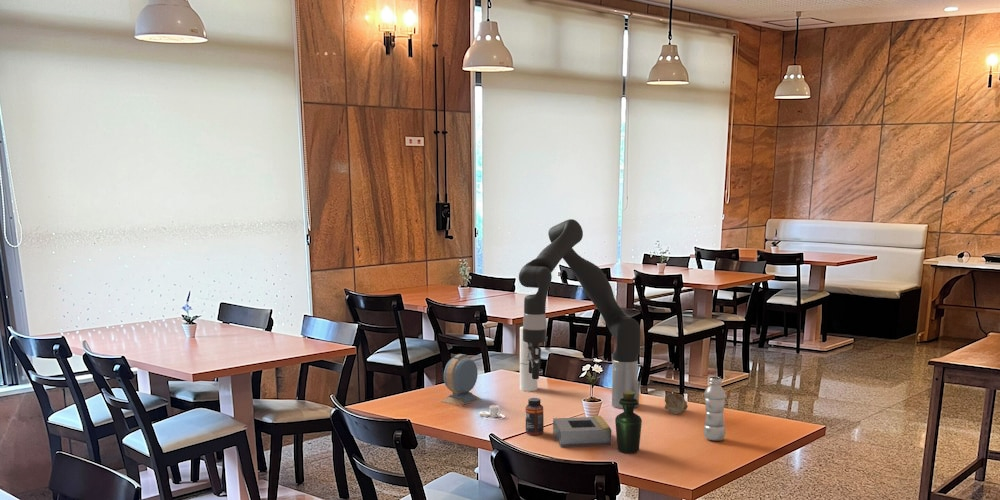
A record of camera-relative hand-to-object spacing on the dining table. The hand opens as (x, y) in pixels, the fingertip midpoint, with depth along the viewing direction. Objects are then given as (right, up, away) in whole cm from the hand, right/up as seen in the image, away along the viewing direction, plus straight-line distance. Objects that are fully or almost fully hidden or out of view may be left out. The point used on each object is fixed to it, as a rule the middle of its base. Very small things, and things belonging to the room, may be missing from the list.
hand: (533, 375), depth 252 cm
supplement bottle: (0, -19, 0) cm, 19 cm away
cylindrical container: (0, -15, +57) cm, 59 cm away
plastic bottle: (+57, -19, -7) cm, 61 cm away
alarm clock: (-26, -16, +41) cm, 51 cm away
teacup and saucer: (-14, -18, +22) cm, 32 cm away
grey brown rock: (+52, -17, +25) cm, 60 cm away
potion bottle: (+28, -20, -17) cm, 39 cm away
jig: (+15, -19, -6) cm, 25 cm away
